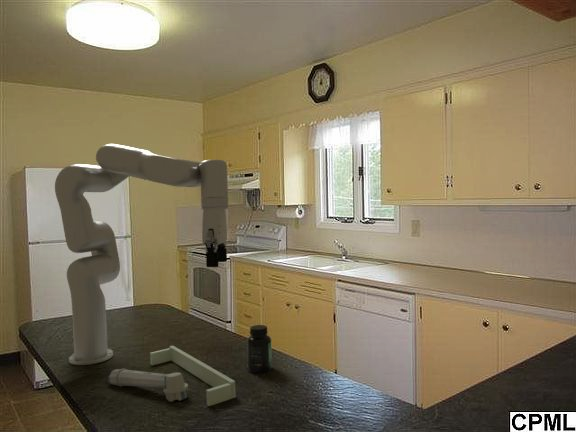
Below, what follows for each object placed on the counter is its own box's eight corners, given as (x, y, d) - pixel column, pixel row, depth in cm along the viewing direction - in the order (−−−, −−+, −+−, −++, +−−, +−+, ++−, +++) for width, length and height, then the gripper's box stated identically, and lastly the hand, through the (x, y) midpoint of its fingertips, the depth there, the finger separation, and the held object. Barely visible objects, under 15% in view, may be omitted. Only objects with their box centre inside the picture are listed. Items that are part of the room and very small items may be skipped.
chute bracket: (150, 364, 136) (150, 351, 135) (173, 358, 140) (172, 345, 140) (209, 406, 107) (208, 389, 107) (235, 397, 111) (235, 381, 111)
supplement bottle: (276, 369, 129) (275, 327, 128) (256, 375, 124) (255, 332, 124) (263, 363, 134) (261, 322, 133) (243, 368, 130) (241, 327, 129)
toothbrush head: (120, 365, 125) (190, 366, 113) (123, 390, 125) (194, 393, 113) (104, 372, 120) (175, 374, 108) (107, 397, 120) (179, 402, 108)
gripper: (210, 203, 138) (212, 260, 139) (192, 204, 121) (194, 269, 122) (234, 203, 137) (236, 259, 138) (220, 204, 120) (222, 268, 121)
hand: (217, 264), depth 130 cm, fingers open, 9 cm apart
